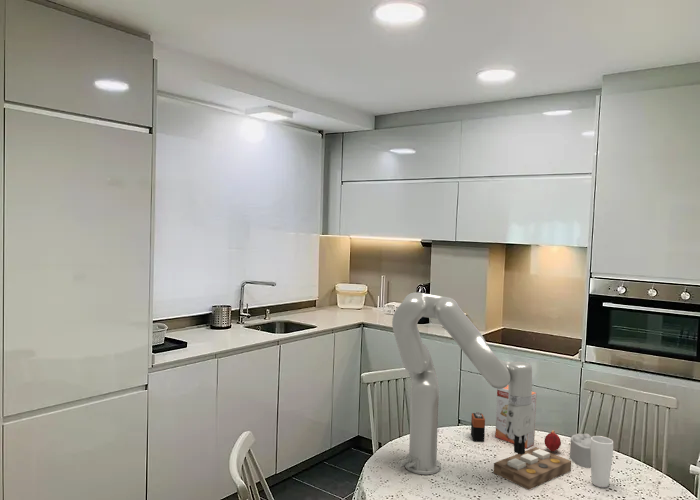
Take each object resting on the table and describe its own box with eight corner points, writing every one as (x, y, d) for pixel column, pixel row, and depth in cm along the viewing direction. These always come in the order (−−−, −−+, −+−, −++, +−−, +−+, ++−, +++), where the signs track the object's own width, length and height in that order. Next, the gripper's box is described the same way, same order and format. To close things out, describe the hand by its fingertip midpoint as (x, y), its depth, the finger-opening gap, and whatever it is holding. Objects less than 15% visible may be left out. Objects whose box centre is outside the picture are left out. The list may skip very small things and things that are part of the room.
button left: (517, 472, 180) (518, 465, 180) (507, 468, 183) (507, 461, 183) (525, 469, 182) (525, 462, 182) (515, 465, 186) (515, 458, 185)
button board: (528, 489, 173) (529, 478, 173) (493, 473, 184) (494, 462, 184) (570, 470, 187) (571, 460, 187) (535, 456, 198) (536, 446, 198)
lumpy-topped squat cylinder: (579, 467, 190) (580, 443, 190) (564, 452, 203) (565, 429, 203) (608, 468, 190) (609, 444, 190) (591, 452, 203) (592, 430, 203)
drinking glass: (592, 477, 183) (594, 434, 182) (613, 484, 178) (615, 439, 178) (586, 484, 177) (588, 439, 177) (608, 491, 173) (610, 445, 172)
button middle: (530, 467, 184) (530, 460, 184) (520, 463, 187) (520, 456, 187) (537, 464, 186) (538, 457, 186) (527, 460, 190) (527, 453, 190)
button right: (542, 462, 188) (543, 455, 188) (532, 458, 191) (532, 451, 191) (549, 459, 191) (550, 452, 190) (539, 455, 194) (539, 448, 194)
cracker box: (494, 437, 215) (496, 386, 214) (502, 434, 219) (504, 383, 218) (526, 449, 205) (528, 394, 204) (534, 445, 209) (537, 391, 208)
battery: (473, 441, 211) (474, 416, 210) (470, 434, 217) (471, 410, 217) (484, 442, 210) (485, 417, 210) (481, 435, 217) (482, 411, 217)
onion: (561, 455, 200) (562, 434, 199) (545, 454, 201) (546, 432, 200) (558, 449, 205) (559, 428, 205) (543, 447, 206) (543, 427, 206)
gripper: (515, 406, 174) (515, 462, 175) (542, 397, 183) (542, 451, 184) (496, 400, 180) (496, 454, 181) (523, 392, 189) (523, 444, 190)
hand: (519, 452), depth 182 cm, fingers closed
